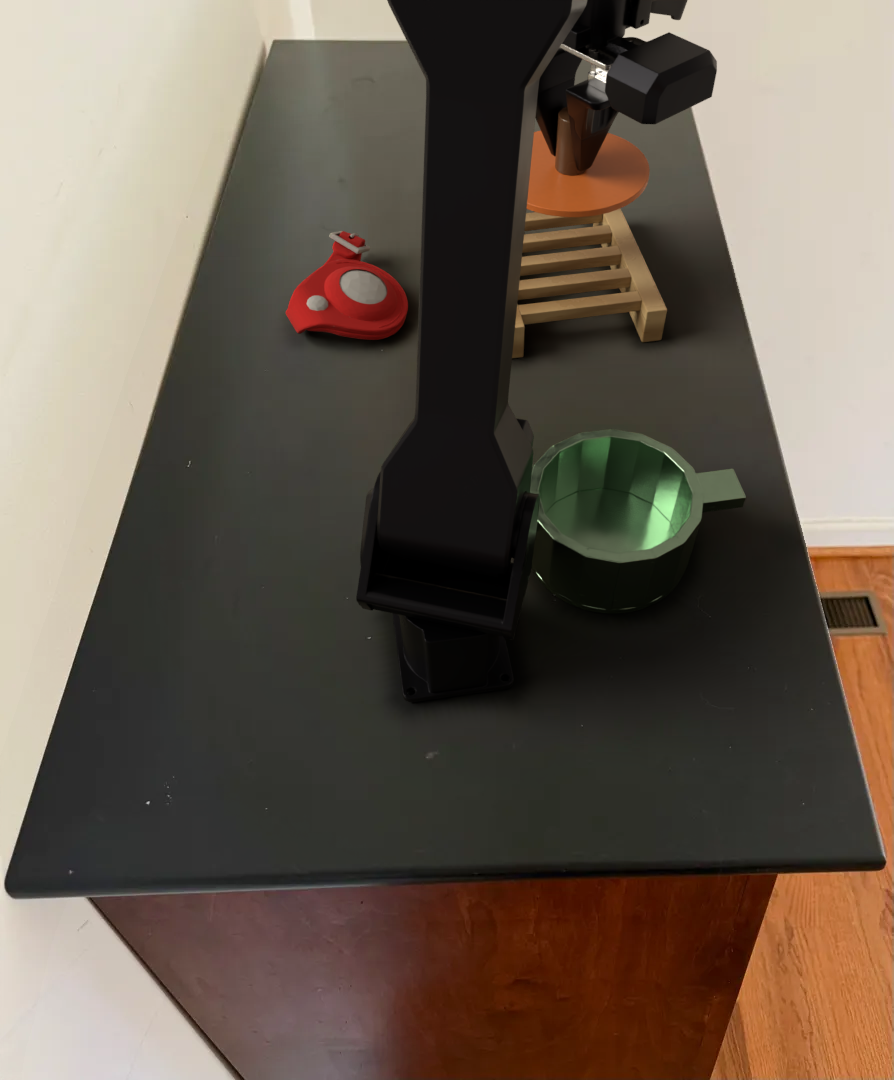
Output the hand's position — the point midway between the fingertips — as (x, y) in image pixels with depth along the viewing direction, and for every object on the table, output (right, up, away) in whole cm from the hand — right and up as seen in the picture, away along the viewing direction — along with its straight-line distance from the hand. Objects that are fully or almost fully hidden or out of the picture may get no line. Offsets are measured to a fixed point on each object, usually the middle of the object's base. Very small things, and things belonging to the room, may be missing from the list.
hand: (571, 161), depth 66 cm
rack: (0, -7, +9) cm, 11 cm away
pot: (+1, -28, -7) cm, 29 cm away
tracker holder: (-17, -8, +9) cm, 21 cm away
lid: (0, -1, +1) cm, 1 cm away
